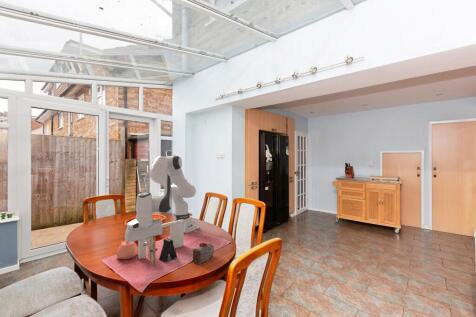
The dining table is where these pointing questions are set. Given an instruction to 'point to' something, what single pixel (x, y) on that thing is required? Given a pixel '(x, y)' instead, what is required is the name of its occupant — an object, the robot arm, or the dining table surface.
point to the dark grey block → (203, 252)
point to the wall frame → (175, 235)
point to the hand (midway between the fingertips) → (144, 245)
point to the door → (151, 249)
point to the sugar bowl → (127, 250)
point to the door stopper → (167, 251)
